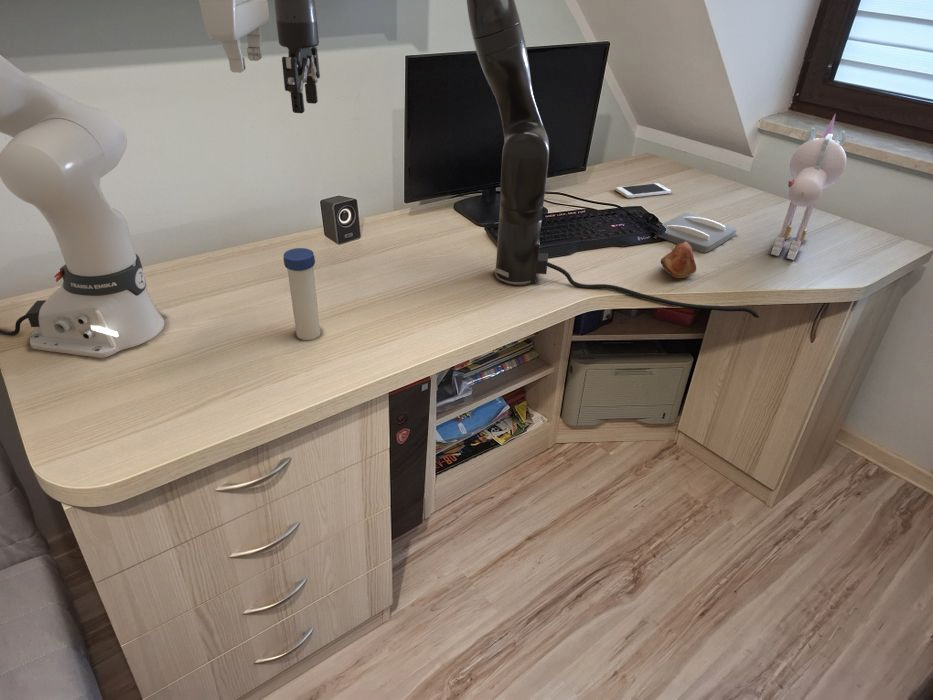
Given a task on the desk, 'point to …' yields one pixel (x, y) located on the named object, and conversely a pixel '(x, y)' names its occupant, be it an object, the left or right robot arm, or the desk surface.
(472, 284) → the desk surface
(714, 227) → the light switch
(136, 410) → the desk surface
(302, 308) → the jar
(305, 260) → the lid
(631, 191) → the smartphone
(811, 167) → the toy
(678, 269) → the fossil
